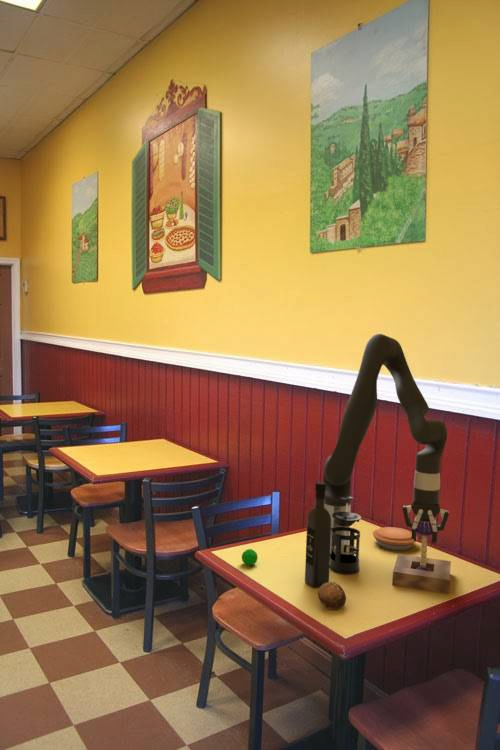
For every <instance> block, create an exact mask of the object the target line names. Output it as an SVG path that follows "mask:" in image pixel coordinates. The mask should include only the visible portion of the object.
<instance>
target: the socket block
mask: <svg viewBox="0 0 500 750" xmlns="http://www.w3.org/2000/svg"><path fill="white" fill-rule="evenodd" d="M420 559H421V556H418V555H416V556H415V555H410V554H402V553H398V554H397V557H396V560H395V563H394V567H393V570H392V584H391V585H392V586H397V587H404V588H409V589H411V588H412V589H417V590H423V591H427V592H428V591H430V592H435V593H442V594H448V595H449V594H450V586H451V585H450V583H451V566H452V564H451V560H444V559H437V558H430V557H426V567H427V568H428V569H429V570H430V571H424V570H418V569H417V568H418V567H419V566H420V563H421V560H420Z"/></svg>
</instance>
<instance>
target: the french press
mask: <svg viewBox="0 0 500 750" xmlns="http://www.w3.org/2000/svg"><path fill="white" fill-rule="evenodd" d="M341 499H344V500H346V503H347V504H346V512H336V513H333V514H332V517H333V522H334V523H335V524H337V525H340V526H345V527H335V528H332V527H331V535H332V545H331V553H330V565H329V571H332V572H334V573H337V574H340V575H341V574H342V575H354V573H355V574H357V573H359V572H360V558H359V557H360V538H361V531H360V530H359V529H357V528H354V527H351V526H353V525H354V524H355V523H356V522H357V523H359V522H360V520H362V519H361V518H362V516H361V515H360V514H358V513H355V512H351V511H350V512H347V507H348V503H349V500H351V501H352V500H355V498H354V497H353V496H352V495H351V496H341ZM348 526H350V527H348ZM336 531H345V536H344V535H339V534H336V533H335V532H336ZM346 531H349V536H346ZM335 538H336V545H335ZM341 539H342V540H345V544H341ZM346 540H349V545H348V544H346ZM355 541H356V544H355ZM334 552H335V553H336V554H334Z"/></svg>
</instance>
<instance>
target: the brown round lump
mask: <svg viewBox="0 0 500 750" xmlns="http://www.w3.org/2000/svg"><path fill="white" fill-rule="evenodd" d="M344 590H345V589H343V587H341V585H340V584H338V583H337V582H335V581H334V582H332V581H329V582H328V583H324V584H323V585H322V586H320V587H318V591H317V597H318V600H319V601H320V603H321V604H322V606H323V607H324V608H326V609H329V610H332V611H333V610H334V611H336V610H338V609H341V608H342V607H343V606H344V605H345V604H346V600H347V595H346V593H345V591H344Z"/></svg>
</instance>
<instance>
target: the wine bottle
mask: <svg viewBox="0 0 500 750" xmlns="http://www.w3.org/2000/svg"><path fill="white" fill-rule="evenodd" d="M314 485H315V489H314V490H315V497H314V498H315V499H314V500H315V501H314V502H315V503H314V507H313V508H311V509H310V510H309V512H308V514H307V518H306V540H305V541H306V542H305V545H306V546H305V564H304V565H305V567H304V582H305V583H306V584H308V585H310V586H311V587H313V588H320V586H322V585H323V584H324V583H328V582H330V568H329V565H330V541H331V516H330V514H329V512H328V511H327V509H326V508H325V491H326V483H324V482H322V481H317V482H315V484H314Z"/></svg>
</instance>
